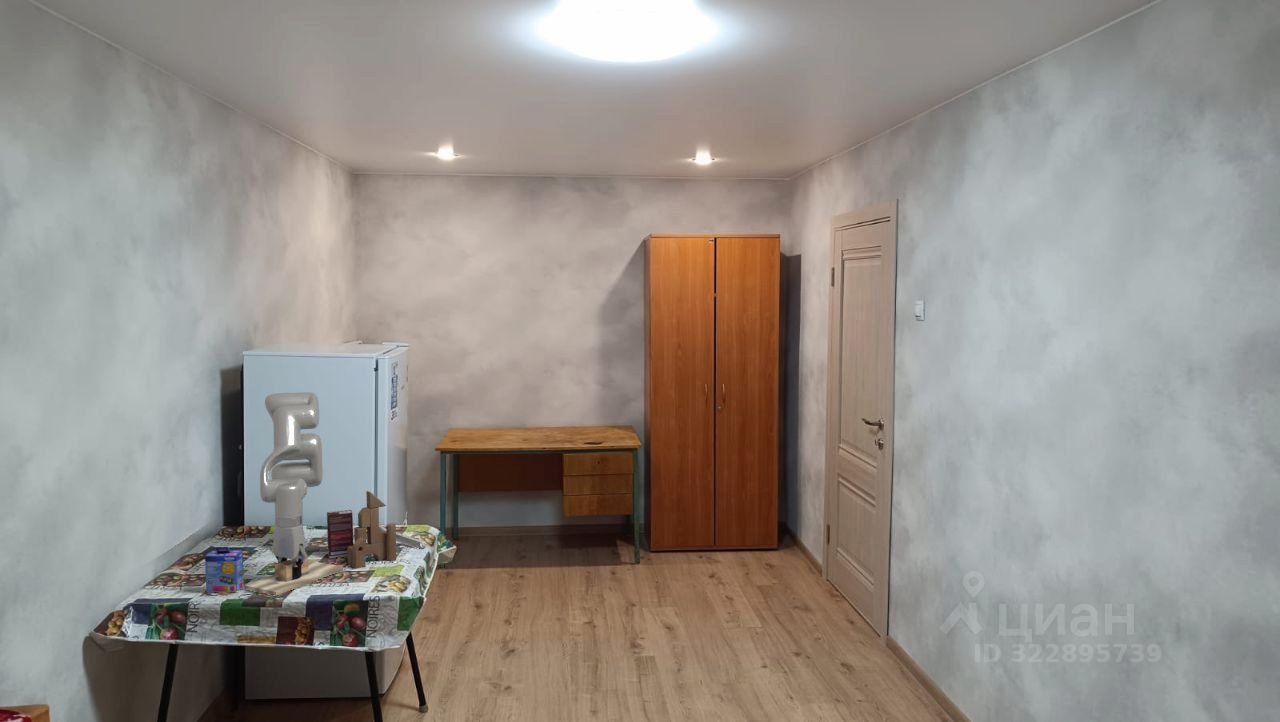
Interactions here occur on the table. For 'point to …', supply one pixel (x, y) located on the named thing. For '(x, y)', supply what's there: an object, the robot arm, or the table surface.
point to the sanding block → (289, 570)
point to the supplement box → (339, 533)
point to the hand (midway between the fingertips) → (290, 576)
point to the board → (279, 587)
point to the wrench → (406, 539)
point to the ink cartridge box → (224, 570)
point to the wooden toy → (372, 536)
